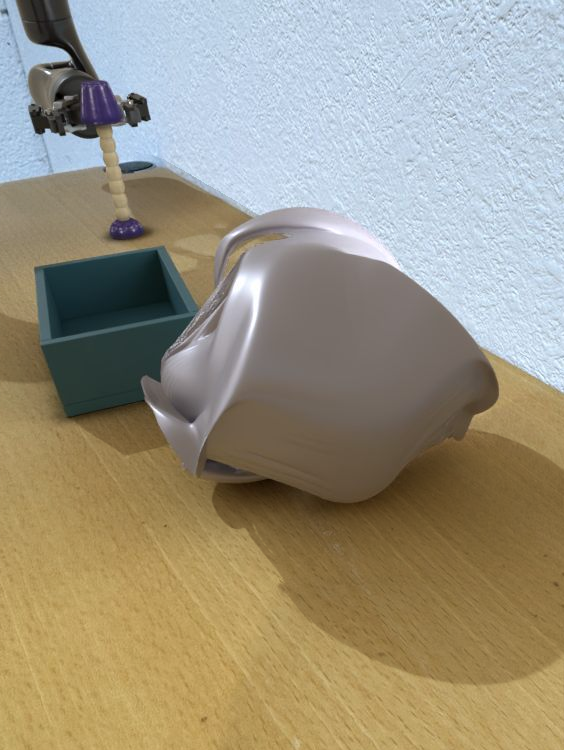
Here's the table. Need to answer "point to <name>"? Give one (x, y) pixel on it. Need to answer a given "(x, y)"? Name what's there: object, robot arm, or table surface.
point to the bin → (109, 324)
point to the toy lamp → (109, 150)
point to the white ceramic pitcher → (316, 364)
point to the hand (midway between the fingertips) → (97, 121)
